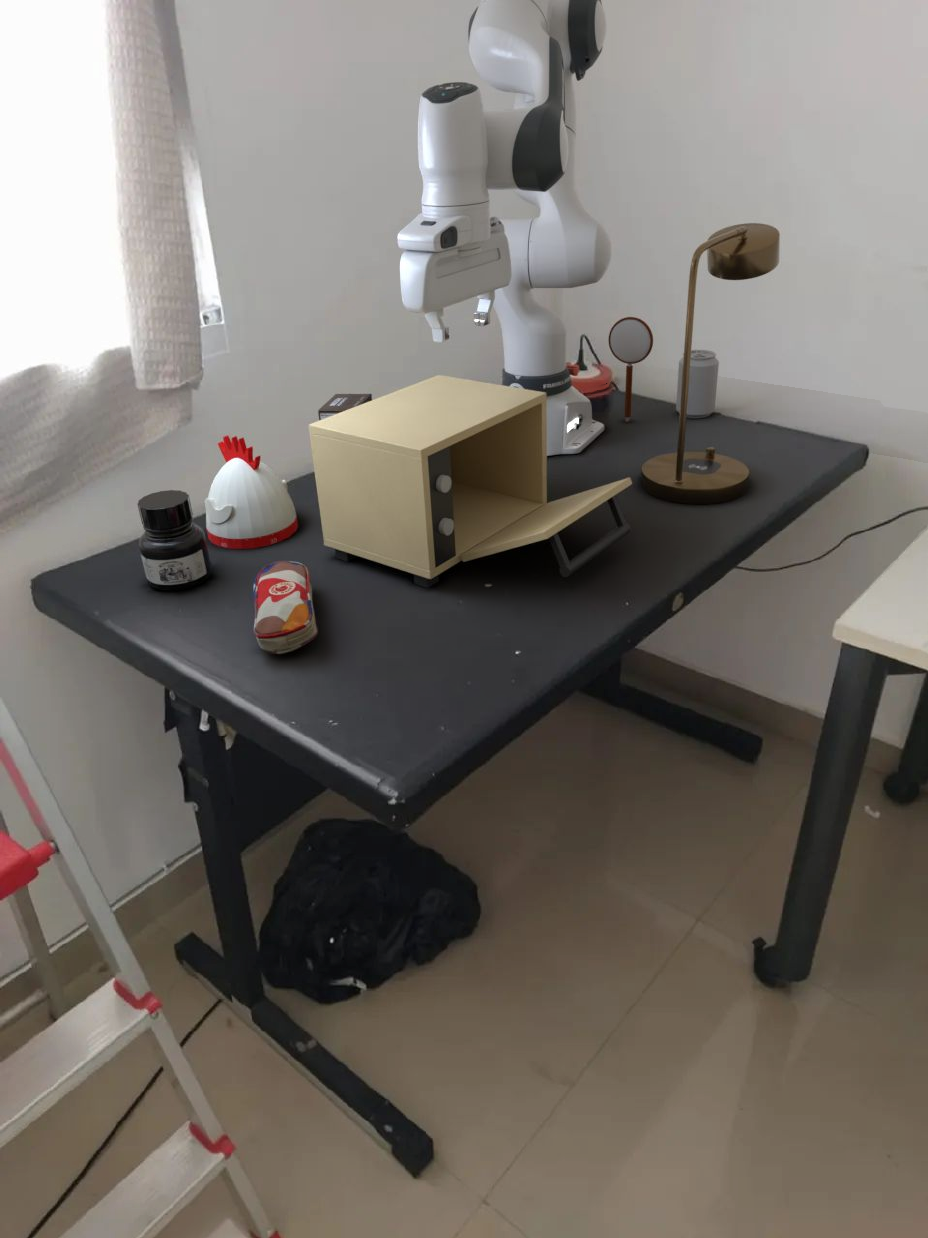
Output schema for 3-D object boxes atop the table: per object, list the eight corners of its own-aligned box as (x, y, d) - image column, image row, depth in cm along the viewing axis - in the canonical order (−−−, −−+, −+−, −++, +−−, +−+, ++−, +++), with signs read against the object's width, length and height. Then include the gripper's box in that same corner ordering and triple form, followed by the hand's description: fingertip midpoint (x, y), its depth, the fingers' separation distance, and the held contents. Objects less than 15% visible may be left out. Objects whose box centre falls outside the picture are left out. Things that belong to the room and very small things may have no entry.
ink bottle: (138, 595, 130) (118, 514, 124) (153, 566, 137) (135, 489, 131) (209, 590, 130) (192, 509, 124) (220, 562, 138) (205, 485, 132)
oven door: (547, 502, 143) (630, 477, 132) (565, 545, 144) (648, 523, 133) (460, 555, 128) (544, 531, 117) (480, 602, 130) (565, 583, 119)
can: (676, 419, 184) (680, 357, 178) (675, 407, 191) (679, 347, 185) (715, 419, 183) (720, 357, 177) (713, 407, 189) (718, 347, 184)
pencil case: (224, 661, 113) (217, 625, 111) (262, 585, 130) (257, 553, 128) (314, 660, 113) (309, 624, 110) (341, 584, 130) (337, 551, 127)
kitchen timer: (255, 505, 156) (240, 417, 148) (316, 522, 148) (303, 430, 141) (189, 536, 146) (169, 443, 139) (251, 556, 139) (233, 459, 131)
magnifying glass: (604, 420, 186) (607, 316, 176) (607, 418, 187) (611, 314, 177) (647, 425, 182) (652, 319, 172) (650, 422, 183) (655, 317, 173)
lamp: (783, 458, 163) (813, 222, 145) (723, 512, 144) (749, 249, 126) (690, 443, 172) (707, 218, 154) (622, 492, 153) (632, 243, 135)
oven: (446, 494, 156) (438, 374, 146) (552, 521, 144) (551, 393, 135) (325, 557, 137) (308, 424, 127) (436, 594, 126) (426, 451, 116)
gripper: (484, 213, 132) (487, 314, 139) (388, 236, 118) (397, 347, 125) (521, 215, 129) (523, 318, 136) (427, 239, 115) (434, 353, 122)
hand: (462, 332), depth 130 cm, fingers open, 8 cm apart
